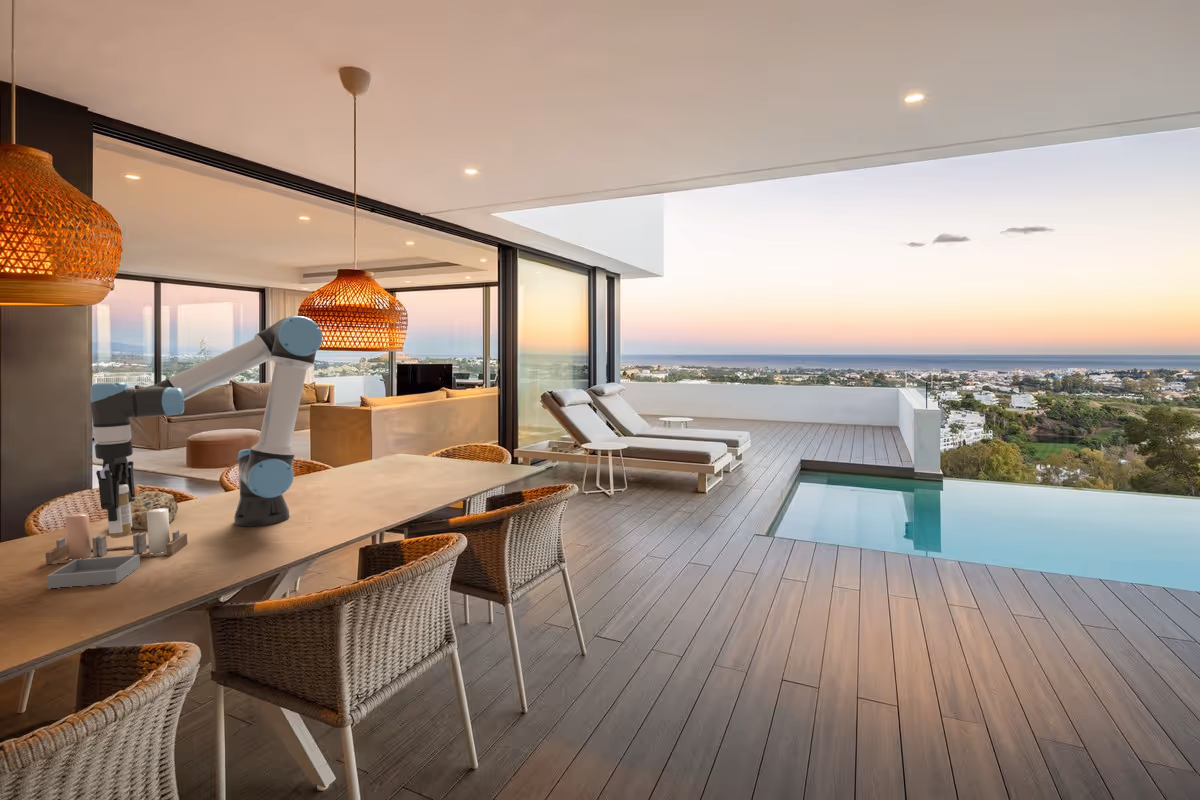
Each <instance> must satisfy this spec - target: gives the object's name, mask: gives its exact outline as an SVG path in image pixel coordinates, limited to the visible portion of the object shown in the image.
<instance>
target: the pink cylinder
mask: <svg viewBox="0 0 1200 800" xmlns="http://www.w3.org/2000/svg"><path fill="white" fill-rule="evenodd" d="M89 517H90V515H89V513H88V512H79V513H72V514H68V515H65V517H64V521H65V535H66V536H65V538H66V542H67V550H68V556H67V560H69V559H80V558H83V559H85V558H84V557H87V558H89V557H88V556H90V555H91V556H92V555H93V554H92V552H91V549H92V543H91V541H92V539H91V532H90V530H91V529H90V518H89ZM91 556H90V557H91Z"/></svg>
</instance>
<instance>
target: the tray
mask: <svg viewBox="0 0 1200 800" xmlns="http://www.w3.org/2000/svg"><path fill="white" fill-rule="evenodd" d="M140 567H141V558H140V554H130V555H129V554H128V555H127V556H126V555H115V556H102V557H100V558H99V557H87V558H86V559H85V558H83V559H76V560H74V561H72V562H70V563H66V564H65V565H63V566H62V567H60V568H58V569H56V570H55V571H53V572H51V573H49V574H48V575H46V585H47V586H46V587H47V590H52V589H51V588H58V589H61V588H60V587H70V588H73V587H72V586H82V587H88V586H87V585H94V586H102V585H101V584H106V585H111V584H110V583H117V582H118V583H119V581H120V580H121V581H123V580H124V579H125V578H127V577H128V576H129V575H131V574H132V573H134V572H135V571H137V570H138V569H140ZM137 568H138V569H137ZM134 570H135V571H134ZM133 571H134V572H133ZM130 573H131V574H130ZM127 575H128V576H127ZM126 576H127V577H126ZM124 577H125V578H124ZM123 578H124V579H123ZM121 581H120V582H121ZM118 583H117V584H118Z"/></svg>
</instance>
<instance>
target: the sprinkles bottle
mask: <svg viewBox="0 0 1200 800" xmlns="http://www.w3.org/2000/svg"><path fill="white" fill-rule="evenodd" d="M128 492H129V488H128V485H126V484H119V504H118V507H121V517H122V528H123V532H121V533H110V535H109V537H110V538H111V539H120V538H125V537H128V536H131V535H132V533H133V531H132V528H131V524H130V523H131V519H130V506H129V498H128Z"/></svg>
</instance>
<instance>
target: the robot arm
mask: <svg viewBox="0 0 1200 800" xmlns="http://www.w3.org/2000/svg"><path fill="white" fill-rule="evenodd" d="M322 342H323V333H322V330H321V328H320V326H319V325H318V323H316V322H315V321H314V320H312V319H311V318H310V317H309V318H308V317H306V316H302V315H291V316H288V317H284V318H282V319H279V320H278V321H277V322H275V323H273V324H272V325H270V326H268V327H267V328H266V329H264V330H262V331H259V332H258V333H256V334H254V337H253V338H252V339H251V340H248V341H246V342H243V343H242V344H240V345H238V346H235V347H233V348H231V349H229V350H227V351H225V352H222V353H220V354H219V355H215V356H213V357H211V358H210V359H208V360H205V361H204V362H203V361H202V362H201V363H199V364H196V365H194V366H192V367H190V368H188V369H186V370H183V371H182V372H179V373H178V374H174V375H173V376H171V377H168V378H167V379H164V380H162V381H160V382H158V383H156V384H153V385H152V384H151V385H149V386H147V387H145V388H140V389H138V388H137V389H136V388H134V389H133V388H129V387H128V384H127V383H126V382H124V381H122V382H121V381H117V382H116V381H115V382H114V381H112V382H97V383H96V382H95V383H93V384H92V385H90V387H89V388H90V390H89V391H90V393H89V395H90V402H89V403H90V409H91V419H92V427H93V430H92V434H93V439H94V442H95V443H96V444H95V445H94V450H95V451H94V453H95V458H96V459H99V460H102V469H101V470H96V473H95V474H96V477H97V481H98V489H99V491H98V493H99V502H100V508H101V509H102V510H106V512H107V524H108V525H107V526H108V527H107V528H108V533H109V534H111V533H121V532H123V528H122V517H121V507H118V504H119V484H126V485H128V488H129V492H128V498H129V506H130V519H131V523H130V524H131V527H132V514H131V503H130V502H133V501H135V498H134V497H136V493H135V482H134V481H135V479H134V461H133V460H132V461H128V458H127V457H130V456H132V455H133V453H134V450H133V442H132V441H130V440H131V439H132V428H131V419H132V418H135V419H137V418H143V417H144V418H147V417H161V416H162V417H165V416H168V417H170V416H175V415H177V416H178V415H183V414H184V412H185V401H187V400H189V399H191V398H194V397H195V396H197V395H199V394H201V393H203V392H206V391H208V390H210V389H212V388H213V387H216V386H219V385H220V384H222V383H224V382H226V381H228V380H230V379H232V378H235V377H237V376H239V375H241V374H242V373H245V372H248V371H249V370H251V369H253V368H255V367H258V366H259V365H262V364H264V363H266V362H271V363H273V362H274V367H273V373H272V376H271V377H272V378H271V380H270V381H271V382H270V386H269V390H268V396H267V400H266V406H265V409H264V414H263V419H262V424H261V429H260V433H259V438H258V441H257V443H256V444H254V445H253V446H252V447H251V448H246V449H240V450H239V451H238V454H237V459H236V461H237V462H238V481H239V482H238V483H239V484H238V485H239V499H238V504H237V507H236V510H235V513H234V516H233V517H234V520H233V521H234V524H235V525H236V526H239V527H257V526H258V527H259V526H268V525H274V524H278V523H280V522H283V521H285V520H288V519H289V518H290V510H289V507H288V504H287V502H286V499H285V496H284V494H285V493H286V492H287V491H288V490H289V489H290V487H291V486H292V484H293V481H294V469H293V465H294V460H295V451H294V450H293V449H292V447H291V446H292V441H293V436H294V433H295V432H294V431H295V426H296V422H297V418H298V414H299V413H298V412H299V408H300V403H301V398H302V395H303V390H304V386H305V385H304V384H305V380H306V375H307V371H308V369H309V368H312V366H314V364H315V359H316V354H317V351H319V349H320V348H321V345H322Z"/></svg>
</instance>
